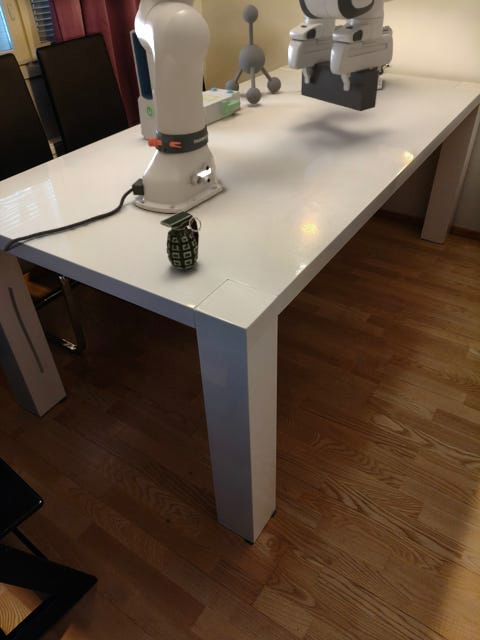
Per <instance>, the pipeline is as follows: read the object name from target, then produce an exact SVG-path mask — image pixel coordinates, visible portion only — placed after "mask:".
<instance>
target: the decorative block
mask: <svg viewBox="0 0 480 640" xmlns="http://www.w3.org/2000/svg"><path fill="white" fill-rule="evenodd" d="M202 93H203V107H204V119H205V125H206V126H207V125H210V124H212V123H215V122H217V121H219V120H221V119H224V118H226V117H228V116H230V115H233V114H235V111H238V110H240V109H241V92H240V90H239V91H232V90H225V88H224V89H222V88H216V87H212V88H211V89H208V90H205V91H202Z"/></svg>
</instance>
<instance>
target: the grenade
mask: <svg viewBox="0 0 480 640" xmlns="http://www.w3.org/2000/svg"><path fill="white" fill-rule="evenodd" d="M198 222H199V226H198ZM159 224H160V225H162V226H164V227H166V228H169V230H168V231H167V236H166V254H167V259H168V261H169V263H170V265H171V266H172V267H174V268H176V269H178V270H181V271H186V270H189V269H192V267H194V266H195V265H196V264H197V262H198V261H197V260H198V259H199V243H200V241H199V240H200V233H199V232H200V231H201V228H202V221H201V220H200V219H199V218H198V217H197V216H194V215H193V214H192V213H189V212H187V211H185V212H184V211H181V212H179V213H174V214H172V215H170V216H169V217H166V218H165V219H162V220H160V222H159ZM198 227H199V228H198Z"/></svg>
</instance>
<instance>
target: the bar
mask: <svg viewBox="0 0 480 640" xmlns="http://www.w3.org/2000/svg"><path fill="white" fill-rule="evenodd" d="M330 62H331V61H326V62H321V63H317V64H315V66H312V67H310V71H308V72H309V75H310V76H312V83H308V84H307V83H305V77H304V74H303V72H302V71H301V90H300V91H301V92H300V95H301V96H304V97H307V98H310V99H315V100H319V101H322V102H326V103H329V104H332V105H336V106H340V107H344V108H348V109H350V110H354V111H357V112H363V111H367V110H370V109H373V108H376V103H377V102H376V101H377V94H378V89H377V86H378V77H379V70H374V69H364V70H360V71H356V72H352V73H351V74H350V77H349V81H350V83H352V89H351V90H348V91H346V90H344V83H343V80H342V78H341V75H337V74H333V73H332V71H331V69H330Z"/></svg>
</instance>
